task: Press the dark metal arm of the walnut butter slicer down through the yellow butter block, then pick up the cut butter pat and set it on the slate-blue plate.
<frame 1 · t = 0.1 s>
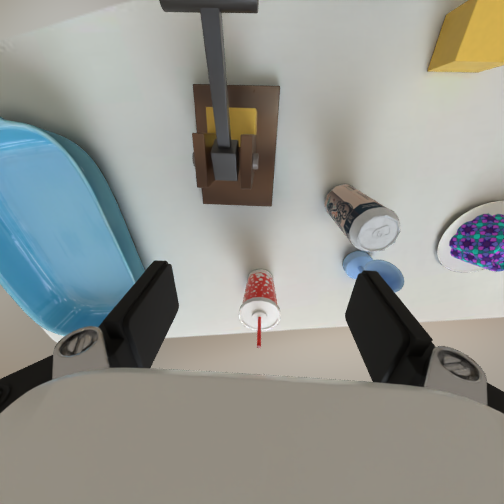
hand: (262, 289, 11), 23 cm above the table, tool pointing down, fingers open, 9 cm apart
pudding: (476, 237, 33), on the table
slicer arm: (220, 104, 16), point 12 cm above the table, hinge at 25.0°
beverage cup: (260, 278, 39), on the table
casserole dish: (84, 236, 37), on the table
supplement bottle: (339, 199, 32), on the table
butter: (234, 128, 24), point 4 cm above the table
slicer: (237, 151, 29), on the table
butter pat: (462, 44, 23), on the table
spotlight: (356, 259, 36), on the table
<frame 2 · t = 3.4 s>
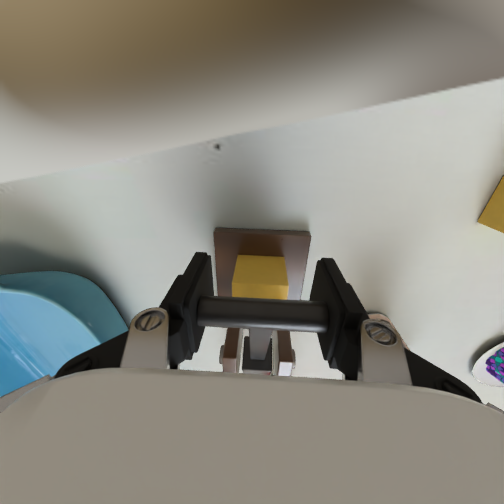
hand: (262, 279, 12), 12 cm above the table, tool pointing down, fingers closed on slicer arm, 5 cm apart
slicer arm: (258, 342, 14), point 12 cm above the table, hinge at 25.0°, touching gripper
casserole dish: (89, 344, 34), on the table
butter: (259, 282, 22), point 4 cm above the table
slicer: (259, 282, 26), on the table
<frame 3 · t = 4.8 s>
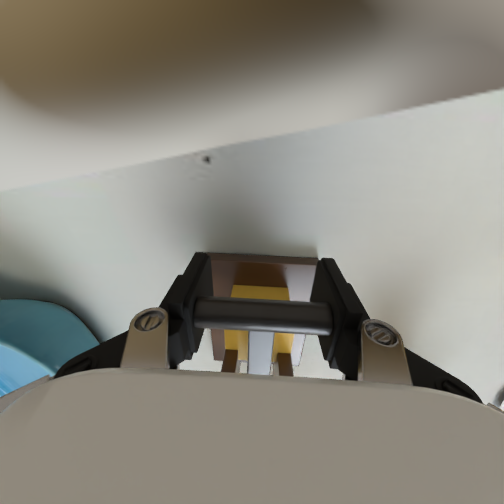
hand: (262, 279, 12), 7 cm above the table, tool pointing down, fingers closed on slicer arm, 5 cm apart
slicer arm: (257, 385, 12), point 10 cm above the table, hinge at 0.5°, touching gripper
casserole dish: (69, 372, 31), on the table
butter: (259, 321, 18), point 4 cm above the table
slicer: (258, 312, 23), on the table
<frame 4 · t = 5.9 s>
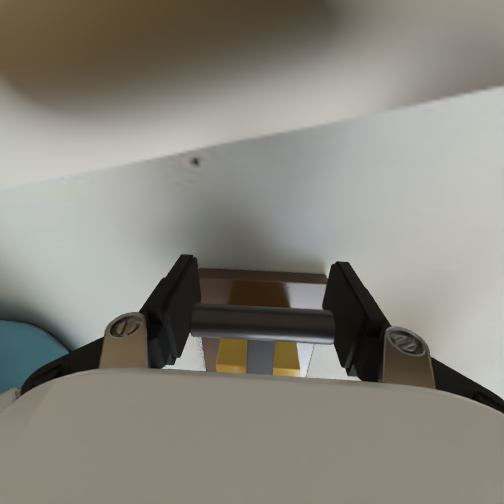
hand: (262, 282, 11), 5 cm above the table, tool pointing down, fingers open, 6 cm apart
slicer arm: (256, 421, 10), point 9 cm above the table, hinge at -13.2°
casserole dish: (50, 394, 28), on the table
butter: (257, 348, 16), point 4 cm above the table
slicer: (257, 332, 20), on the table
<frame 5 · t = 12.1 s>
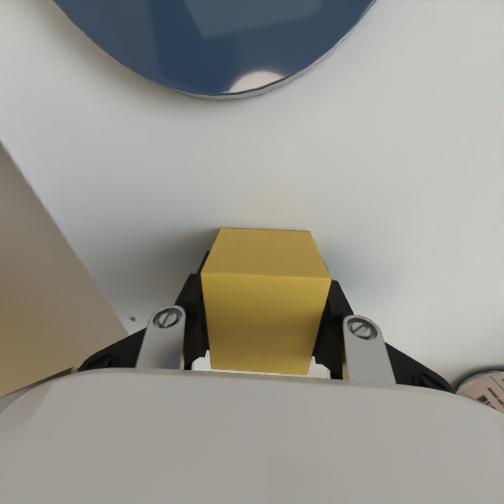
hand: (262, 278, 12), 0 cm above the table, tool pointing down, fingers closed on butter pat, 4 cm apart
supplement bottle: (483, 382, 16), on the table
butter pat: (262, 274, 12), on the table, touching gripper
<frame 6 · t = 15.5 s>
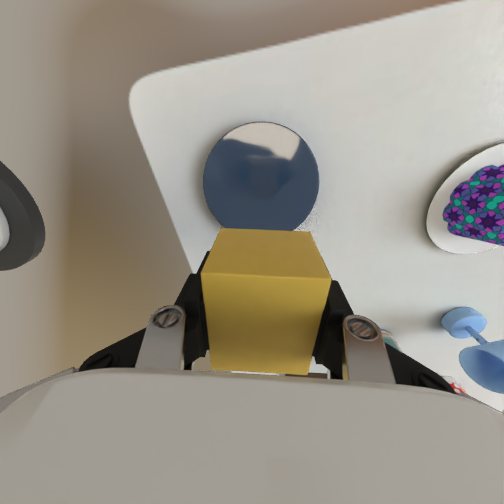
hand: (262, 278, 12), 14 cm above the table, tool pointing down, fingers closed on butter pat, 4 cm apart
pudding: (481, 201, 23), on the table
beverage cup: (440, 382, 39), on the table
plate: (260, 186, 23), on the table
butter pat: (262, 274, 12), point 14 cm above the table, touching gripper
spotlight: (454, 317, 31), on the table
when the fingers open (2 cm above the table, at t = 18.8 s): butter pat stays where it is, resting on plate.
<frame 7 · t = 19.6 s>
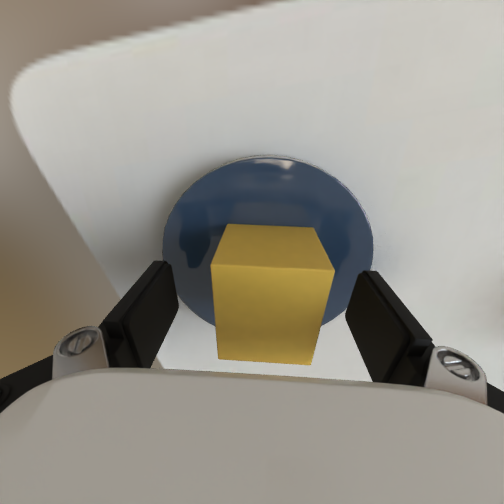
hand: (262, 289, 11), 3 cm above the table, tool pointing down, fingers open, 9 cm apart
plate: (264, 258, 14), on the table
butter pat: (266, 269, 13), point 1 cm above the table, touching plate
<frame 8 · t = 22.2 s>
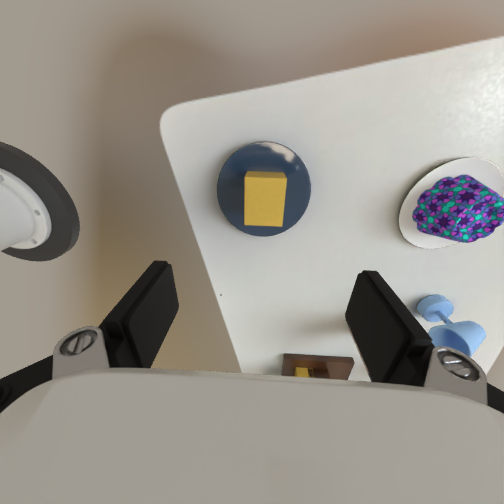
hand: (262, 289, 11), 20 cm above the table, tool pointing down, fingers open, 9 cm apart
pudding: (443, 205, 29), on the table
butter: (304, 386, 44), point 4 cm above the table
plate: (263, 191, 29), on the table
slicer: (314, 370, 47), on the table
butter pat: (264, 194, 28), point 1 cm above the table, touching plate
spotlight: (427, 304, 37), on the table
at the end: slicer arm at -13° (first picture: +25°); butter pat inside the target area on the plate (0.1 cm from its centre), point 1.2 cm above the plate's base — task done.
